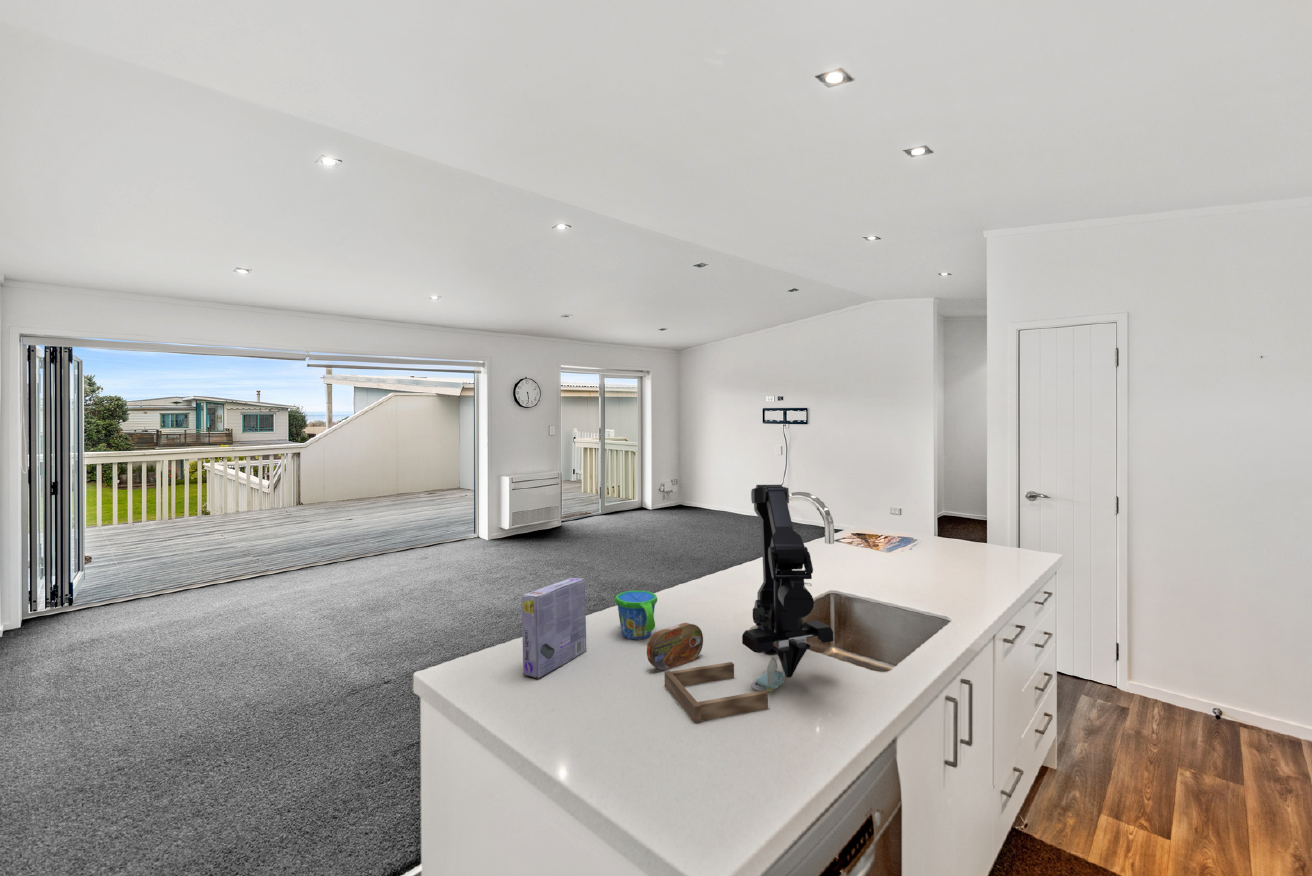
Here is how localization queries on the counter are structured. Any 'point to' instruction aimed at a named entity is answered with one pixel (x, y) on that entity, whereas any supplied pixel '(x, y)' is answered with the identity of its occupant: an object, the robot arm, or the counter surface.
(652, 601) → the snack cup
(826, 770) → the counter surface
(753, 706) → the walnut bay
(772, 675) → the pacifier
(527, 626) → the cake pan box
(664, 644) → the tin
